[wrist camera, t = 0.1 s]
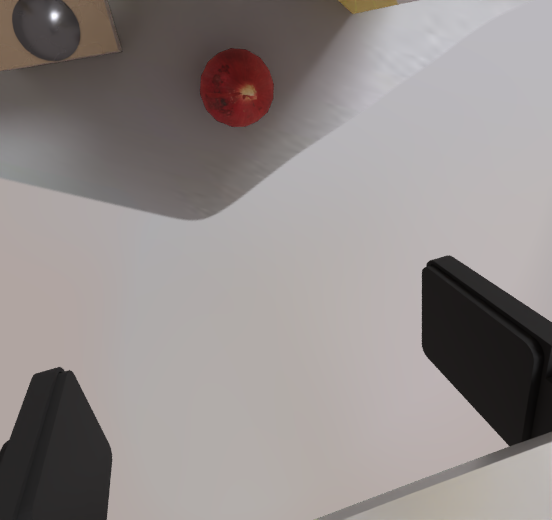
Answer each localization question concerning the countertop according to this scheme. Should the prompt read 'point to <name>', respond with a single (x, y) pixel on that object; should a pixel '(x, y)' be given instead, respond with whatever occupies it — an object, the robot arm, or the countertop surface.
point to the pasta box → (369, 4)
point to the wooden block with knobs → (54, 31)
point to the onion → (236, 87)
